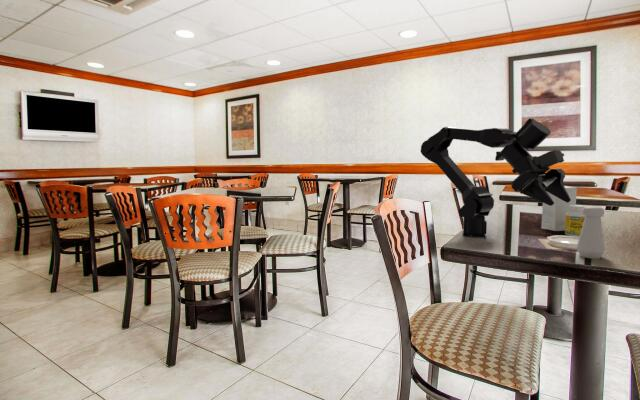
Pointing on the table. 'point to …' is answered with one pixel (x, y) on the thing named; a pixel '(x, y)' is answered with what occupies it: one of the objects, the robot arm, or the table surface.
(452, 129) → the robot arm
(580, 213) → the supplement bottle
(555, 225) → the skincare box
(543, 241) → the placemat
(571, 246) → the dish
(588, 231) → the salt shaker
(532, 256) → the table surface
